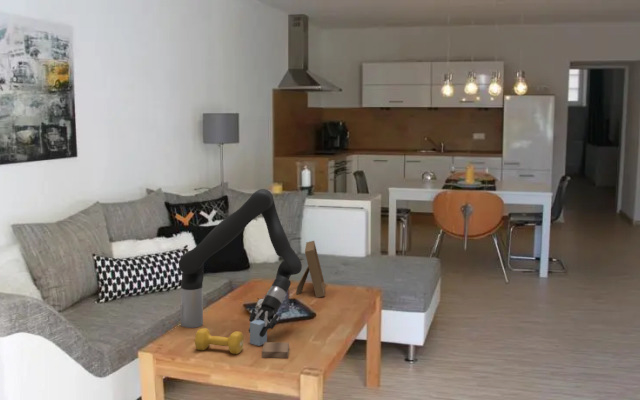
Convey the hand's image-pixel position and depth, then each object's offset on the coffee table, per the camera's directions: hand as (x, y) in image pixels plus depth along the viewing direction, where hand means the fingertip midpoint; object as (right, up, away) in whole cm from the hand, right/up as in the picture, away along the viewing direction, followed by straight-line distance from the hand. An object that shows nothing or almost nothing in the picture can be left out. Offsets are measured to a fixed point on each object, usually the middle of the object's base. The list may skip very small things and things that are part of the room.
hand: (255, 334), depth 273 cm
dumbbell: (-14, -6, -6) cm, 16 cm away
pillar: (+1, -4, +2) cm, 5 cm away
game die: (0, +1, +39) cm, 39 cm away
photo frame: (+21, +7, +77) cm, 80 cm away
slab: (+9, -6, -8) cm, 13 cm away
